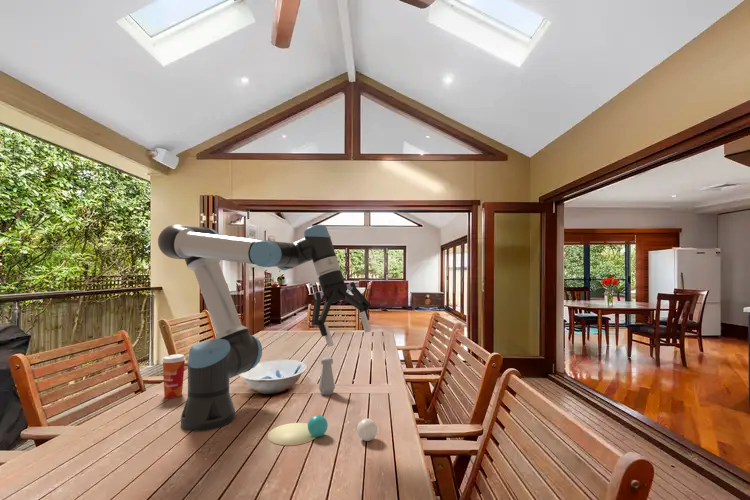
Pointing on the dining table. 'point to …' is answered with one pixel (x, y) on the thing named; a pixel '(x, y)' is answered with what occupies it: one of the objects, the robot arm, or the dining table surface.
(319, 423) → the teal ball
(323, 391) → the salt shaker
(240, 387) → the dining table surface
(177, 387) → the paper cup
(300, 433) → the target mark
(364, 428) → the cue ball
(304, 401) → the dining table surface
